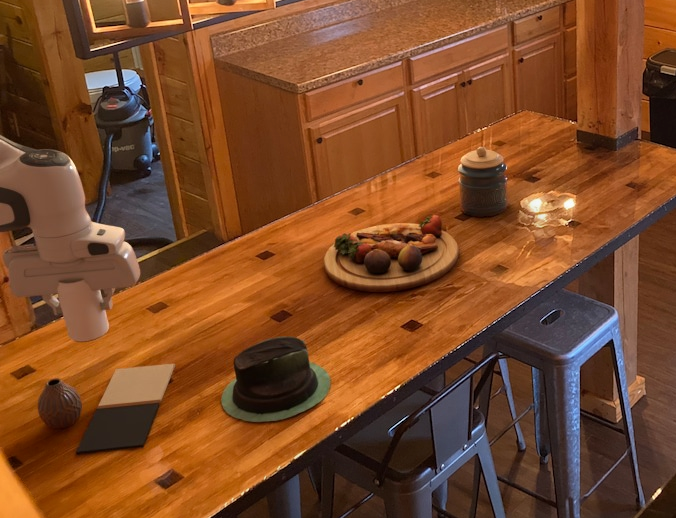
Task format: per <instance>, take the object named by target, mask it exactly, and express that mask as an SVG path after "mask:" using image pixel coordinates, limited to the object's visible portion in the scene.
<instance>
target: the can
mask: <svg viewBox="0 0 676 518" xmlns="http://www.w3.org/2000/svg"><path fill="white" fill-rule="evenodd" d="M58 282H59V286H58V288H57V292H58V294H57V299H58V301H59V302H60V305H61V309H62V312H63V314H62V316H63V319H64V323H65V328H66V330H67V334H68V337H69V339H70V340H72V341H73V342H76V343H89V342H92V341H96V340H98V339H101V338H102V337H104V336H105V335H106V334H107V333H108V331H109V329H110V325H109V320H108V315H107V312H106V311H107V310H101V306H100V301H101V300H102V298H103V295H102V292H101V291H102V290H93V291H92V290H91V289H90V287H89V285H88V284H87V283H86V282H85V281H84V279H82V280H79V281H73V282H60V281H58Z"/></svg>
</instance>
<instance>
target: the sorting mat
mask: <svg viewBox="0 0 676 518" xmlns="http://www.w3.org/2000/svg"><path fill="white" fill-rule="evenodd" d="M175 367H176V364H175V363H167V364H166V363H165V364H155V365H145V366H135V367H123V368H116V369H115V370H114V372H113V375H112V377H111V378H110V380H109V381H108V384H107V386H106V389H105V391H104V393H103V395H102V397H101V399H100V401H99V403H98V405H97V407H96V410H95V412H94V413H93V416H92V418H91V420H90V422H89V424H88V427H87V428H86V430H85V432H84V434H83V436H82V437H81V438H82V439H81V440H80V442H79V445H78V447H77V449H76V451H75V453H76V455H84V454H95V453H103V452H112V451H123V450H130V449H132V450H133V449H141V448H144V447H145V445H146V442H147V439H148V437H149V434H150V432H151V429H152V426H153V424H154V421H155V419H156V416H157V413H158V411H159V408H160V406H161V404H162V401H163V398H164V396H165V393H166V390H167V388H168V385H169V383H170V380H171V377H172V376H173V373H174V370H175Z"/></svg>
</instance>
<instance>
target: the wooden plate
mask: <svg viewBox="0 0 676 518" xmlns="http://www.w3.org/2000/svg"><path fill="white" fill-rule="evenodd" d="M423 220H424V221H423V222H422V221H420V222H419V223H411V222H397V223H395V222H394V223H386V224H379V225H373V226H369V227H365V228H362V229H359V230H356V231H353V232H351V233H348V234H347V233H346V232H345V233H341V234H339V235H338V236H336V238H335V239H334V243H333V244H331V246H330V247H329V248H328V249H327V251H326V252H325V255H324V257H323V262H322V264H323V269H324V271H325V273H326V274H327V276H328V277H329V278H330V279H331V280H332V281H334V282H335V283H337V284H338V285H340V286H343V287H346V288H348V289H351V290H357V291H362V292H373V293H383V292H385V293H387V292H388V293H389V292H397V291H404V290H409V289H412V288H416V287H420V286H422V285H426V284H428V283H430V282H433V281H435V280H437V279H439V278H441V277H443V276H444V275H445V274H446V273H448V272H449V271H450V270H451V269H452V268H453V267H454V266H455V264H456V263H457V261H458V259H459V255H460V249H459V245H458V243H457V241H456V239H454V237H452V235H450V234H449V233H448V232H446V231H444V230H443V221H442V219H441V218H440V216H439V215H437V214H432V215H431V216H429V215H428V216H427V217H425V218H423Z"/></svg>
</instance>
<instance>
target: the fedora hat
mask: <svg viewBox="0 0 676 518" xmlns="http://www.w3.org/2000/svg"><path fill="white" fill-rule="evenodd" d="M233 368H234V374H235V378H234V379H233V380H232V381H230V382H229V383H228V384H227V386H226V387H224V390H223V392H222V394H221V398H220V399H221V400H220V401H221V402H220V403H221V406H222V408H223V410H224V412H225V413H227V414H228V415H229V416H231V417H233V418H234V419H237V420H238V419H239V420H242V421H245V422H252V423H262V422H263V423H264V422H273V421H274V422H276V421H281V420H285V419H288V418H291V417H294V416H296V415H299V414H300V413H302V412H305V411H307V410H310V409H311V408H313V407H315V406H317V404H319V403H320V402H322V401H323V400H324V399H325V398H326V397H327V395H328V393H329V391H330V388H331V384H332V383H331V381H332V379H331V376H330V374H329V372H328V371H327V370H326V369H325V368H324V367H323V366H320V365H319V364H317V363H315V362H311V361H310V359H309V351H308V347H307V345H306V340H305V339H301V338H298V337H297V336H277V337H273V338H268V339H264V340H263V341H260V342H257V343H256V344H253V345H251V346H248V347H247V348H245V349H243V350H241V352H239V353H237V354H236V356H235V357H234V358H233Z"/></svg>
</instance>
